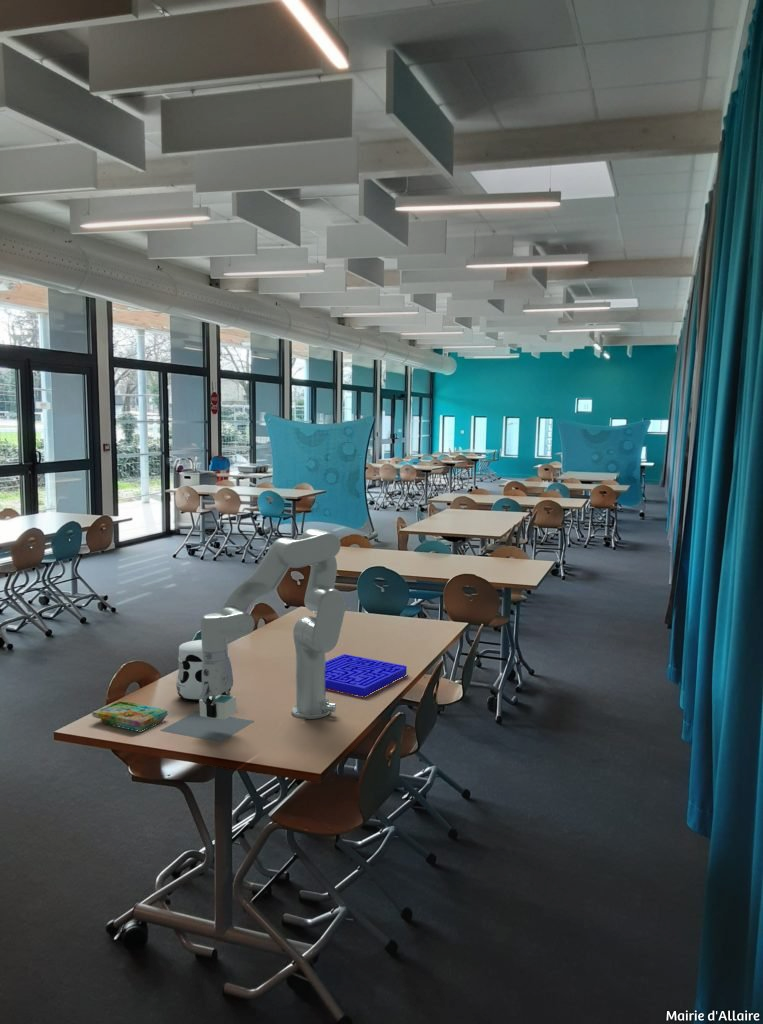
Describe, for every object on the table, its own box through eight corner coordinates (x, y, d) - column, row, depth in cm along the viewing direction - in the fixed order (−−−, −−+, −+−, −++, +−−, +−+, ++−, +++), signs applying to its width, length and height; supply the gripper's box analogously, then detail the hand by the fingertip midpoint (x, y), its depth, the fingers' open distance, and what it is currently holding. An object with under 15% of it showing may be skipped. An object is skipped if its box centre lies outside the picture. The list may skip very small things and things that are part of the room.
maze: (364, 699, 258) (364, 688, 258) (296, 684, 274) (296, 673, 274) (408, 676, 283) (408, 666, 283) (344, 663, 300) (344, 654, 299)
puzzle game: (140, 720, 225) (91, 709, 234) (140, 735, 226) (92, 724, 235) (167, 707, 236) (120, 697, 245) (167, 722, 236) (120, 711, 245)
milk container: (237, 691, 265) (236, 641, 263) (210, 707, 249) (209, 654, 247) (195, 685, 271) (194, 637, 269) (166, 701, 254) (165, 649, 253)
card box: (236, 712, 227) (235, 696, 227) (225, 719, 222) (224, 703, 221) (212, 709, 231) (211, 692, 230) (200, 716, 225) (199, 699, 225)
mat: (254, 722, 235) (254, 721, 235) (220, 744, 219) (220, 742, 219) (196, 712, 244) (196, 711, 244) (160, 732, 227) (160, 730, 227)
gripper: (208, 665, 215) (211, 725, 217) (242, 648, 231) (244, 704, 233) (187, 662, 218) (190, 722, 220) (221, 646, 234) (224, 701, 236)
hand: (218, 712), depth 226 cm, fingers closed on card box, 6 cm apart
